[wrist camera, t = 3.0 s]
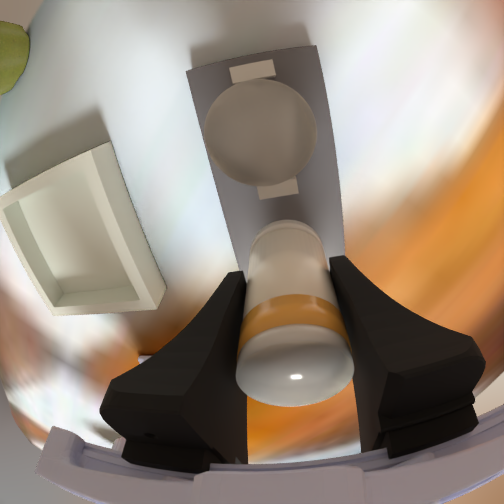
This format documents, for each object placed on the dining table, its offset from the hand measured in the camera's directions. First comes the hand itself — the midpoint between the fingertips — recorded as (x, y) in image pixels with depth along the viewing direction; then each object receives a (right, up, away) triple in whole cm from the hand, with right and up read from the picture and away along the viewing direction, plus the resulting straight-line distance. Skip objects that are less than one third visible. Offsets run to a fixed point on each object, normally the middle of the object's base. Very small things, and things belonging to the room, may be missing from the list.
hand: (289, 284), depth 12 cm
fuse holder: (+1, +4, +7) cm, 8 cm away
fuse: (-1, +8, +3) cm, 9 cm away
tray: (-15, +3, +9) cm, 18 cm away
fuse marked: (0, +1, +2) cm, 2 cm away
